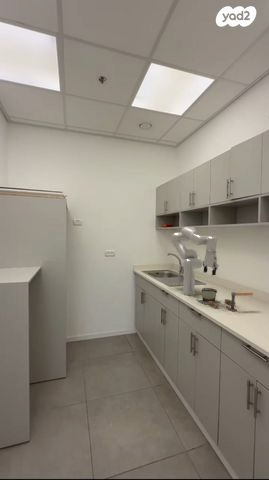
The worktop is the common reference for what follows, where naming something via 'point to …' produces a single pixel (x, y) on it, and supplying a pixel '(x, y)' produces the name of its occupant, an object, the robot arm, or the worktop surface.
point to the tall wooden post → (241, 293)
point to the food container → (208, 294)
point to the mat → (206, 302)
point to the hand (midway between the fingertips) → (209, 273)
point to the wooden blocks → (226, 303)
